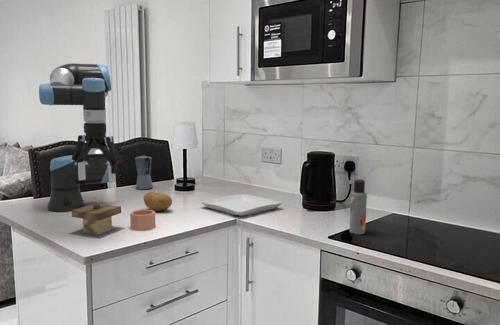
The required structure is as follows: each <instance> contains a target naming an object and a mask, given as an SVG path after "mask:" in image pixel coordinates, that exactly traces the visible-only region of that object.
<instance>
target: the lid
mask: <svg viewBox="0 0 500 325" xmlns="http://www.w3.org/2000/svg"><path fill="white" fill-rule="evenodd" d="M120 214H122V206H121V205H114V204H113V205H112V204H105V203H98V202H97V203H96V202H95V203H92V204H89V205H88V204H87V205H84V207H81V208H77V209H74V210H72V211H71V217H72V218H77V219H82V220H83V219H90V220H97V221H99V220H102V219H105V218H108V217H113V216H116V215H120Z"/></svg>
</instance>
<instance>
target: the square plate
mask: <svg viewBox="0 0 500 325" xmlns="http://www.w3.org/2000/svg"><path fill="white" fill-rule="evenodd" d="M200 203H201V205H203V206H204V207H206V208H208V209H212V210H216V211H219V212H223V213H225V214H229V215H234V216H237V215H239V217H241V216H242V217H243V216H244V215H246V216H250V215H254V214H253V213H255V214H258V213H257V212H259V213H262V212H261V211H263V212H266V211H265V210H267V211H270V210H272V209H276V208H278V207H280V206H281V205H282V204H283V202H282V201H278V200H275V199H270V198H266V197H262V196H255V195H250V194H245V193H244V194H243V193H242V194H234V195H227V196H221V197H215V198H212V199H206V200H202V201H200ZM269 209H270V210H269ZM249 214H250V215H249Z"/></svg>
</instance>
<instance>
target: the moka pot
mask: <svg viewBox="0 0 500 325" xmlns="http://www.w3.org/2000/svg"><path fill="white" fill-rule="evenodd" d="M152 158H153V157H151V156H146V154H145V152H141V155H139V156H136V157H135V158H134V161H135V166H136V168H135V169H136V172H137V173H136V174H137V176H136V184H135V186H136V187H135V188H136V190H148V189H153V181H152V176H151V171H152V170H151V169H152Z"/></svg>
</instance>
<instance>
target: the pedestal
mask: <svg viewBox="0 0 500 325" xmlns="http://www.w3.org/2000/svg"><path fill="white" fill-rule="evenodd" d="M112 218H113V216H111V217H108V218H105V219H102V220H99V221H97V220H90V219H83V218H82V229H83V232H85V233H92V234H98V235H99V234H101V233H104V232H107V231H109V230H112V226H113V222H112Z"/></svg>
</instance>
